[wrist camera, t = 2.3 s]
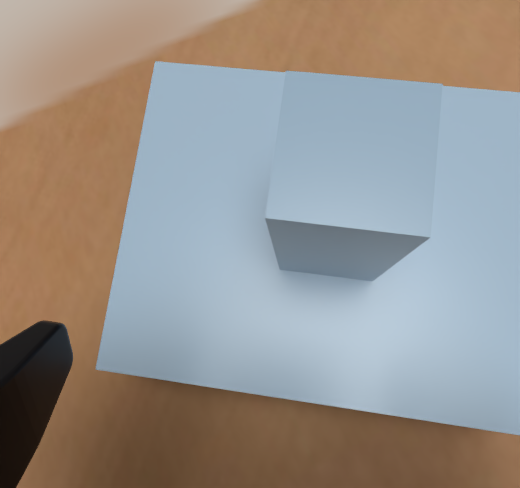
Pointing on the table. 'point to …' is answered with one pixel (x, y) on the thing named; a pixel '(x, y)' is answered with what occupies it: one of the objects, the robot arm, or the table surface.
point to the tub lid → (325, 243)
